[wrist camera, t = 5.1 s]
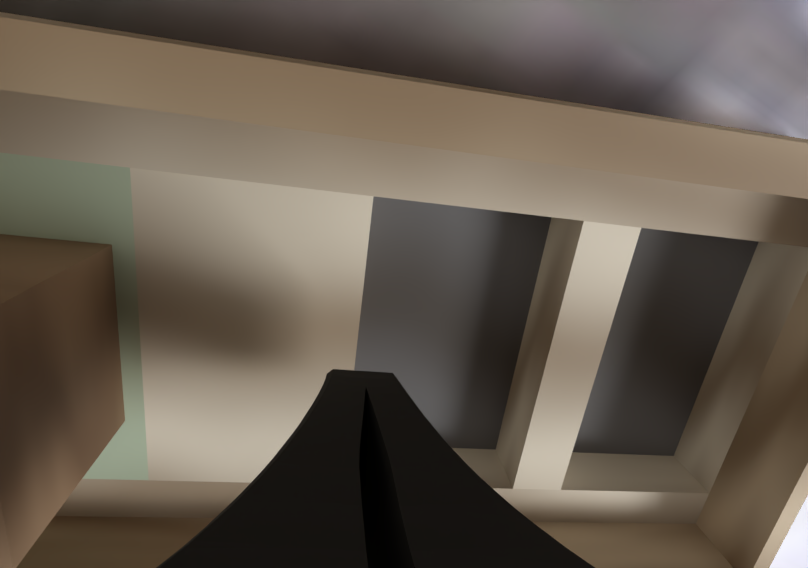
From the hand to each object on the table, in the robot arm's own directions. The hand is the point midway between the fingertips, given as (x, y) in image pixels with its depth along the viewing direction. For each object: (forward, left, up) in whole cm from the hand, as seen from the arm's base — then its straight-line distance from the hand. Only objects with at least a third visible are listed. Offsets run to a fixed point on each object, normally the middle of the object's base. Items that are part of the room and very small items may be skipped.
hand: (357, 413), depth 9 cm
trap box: (0, 0, -4) cm, 4 cm away
